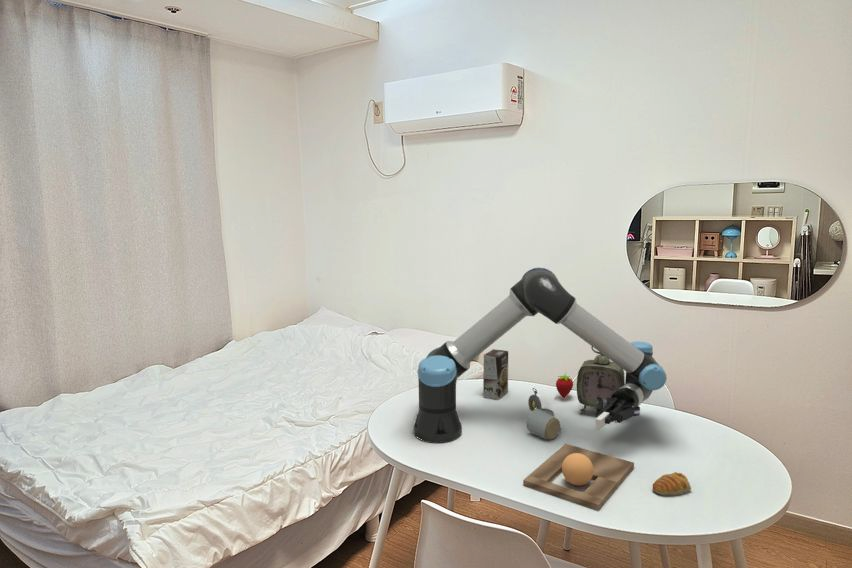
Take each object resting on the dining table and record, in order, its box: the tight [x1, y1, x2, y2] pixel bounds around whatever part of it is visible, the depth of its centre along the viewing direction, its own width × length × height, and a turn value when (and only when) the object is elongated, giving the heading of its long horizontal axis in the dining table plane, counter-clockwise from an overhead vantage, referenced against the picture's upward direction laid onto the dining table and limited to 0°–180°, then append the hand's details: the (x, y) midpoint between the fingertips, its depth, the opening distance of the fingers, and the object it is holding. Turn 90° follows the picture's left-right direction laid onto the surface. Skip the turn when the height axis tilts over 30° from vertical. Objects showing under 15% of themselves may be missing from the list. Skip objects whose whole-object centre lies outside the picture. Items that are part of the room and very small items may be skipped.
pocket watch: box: [528, 388, 554, 416], centre depth 194 cm, size 8×8×10 cm
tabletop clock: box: [576, 346, 626, 415], centre depth 194 cm, size 14×9×25 cm, turn 65°
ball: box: [561, 453, 594, 486], centre depth 150 cm, size 8×8×8 cm
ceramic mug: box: [525, 408, 563, 440], centre depth 180 cm, size 11×8×8 cm
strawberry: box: [555, 372, 574, 399], centre depth 209 cm, size 6×8×10 cm
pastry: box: [651, 471, 692, 497], centre depth 147 cm, size 9×7×4 cm
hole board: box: [522, 443, 635, 511], centre depth 154 cm, size 20×26×2 cm
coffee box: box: [482, 348, 509, 400], centre depth 213 cm, size 9×6×16 cm
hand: (597, 424), depth 161 cm, fingers closed
